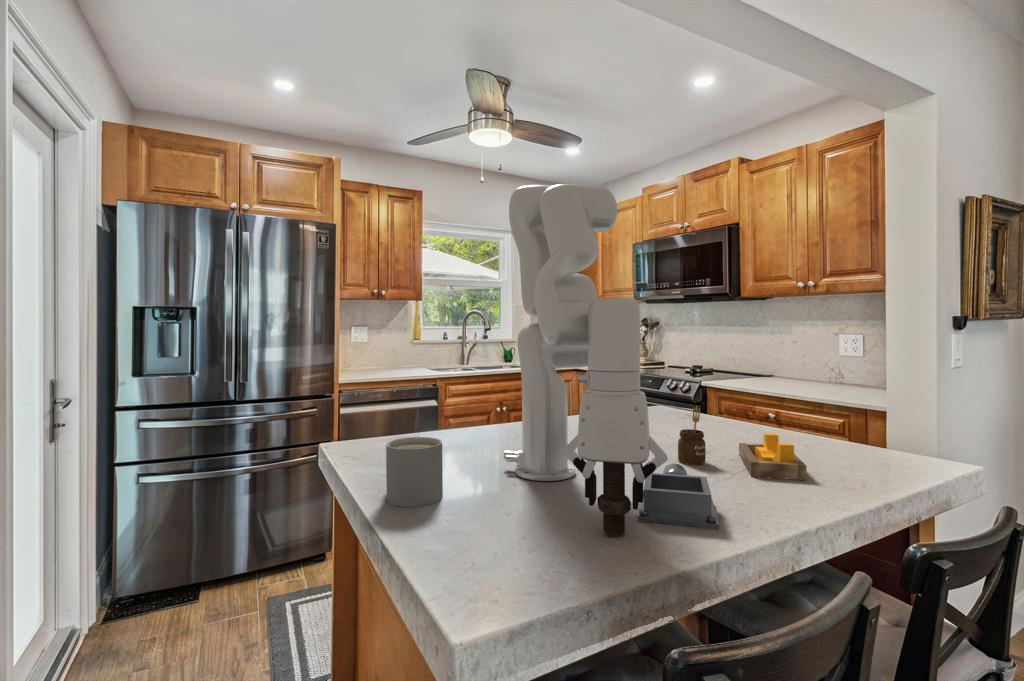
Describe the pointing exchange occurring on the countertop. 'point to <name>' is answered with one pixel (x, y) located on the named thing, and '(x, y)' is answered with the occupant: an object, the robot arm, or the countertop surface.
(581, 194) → the robot arm
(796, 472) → the parts corral
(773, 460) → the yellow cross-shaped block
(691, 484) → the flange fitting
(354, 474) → the countertop surface
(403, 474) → the coffee mug
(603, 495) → the bolt
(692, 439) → the utensil holder
